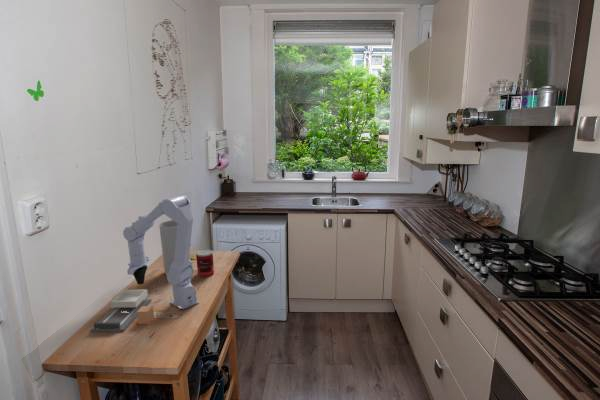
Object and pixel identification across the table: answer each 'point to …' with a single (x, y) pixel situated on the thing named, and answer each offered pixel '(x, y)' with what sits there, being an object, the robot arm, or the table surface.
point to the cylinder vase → (168, 243)
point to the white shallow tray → (129, 298)
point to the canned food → (205, 263)
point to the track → (118, 319)
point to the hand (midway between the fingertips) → (140, 283)
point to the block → (145, 314)
